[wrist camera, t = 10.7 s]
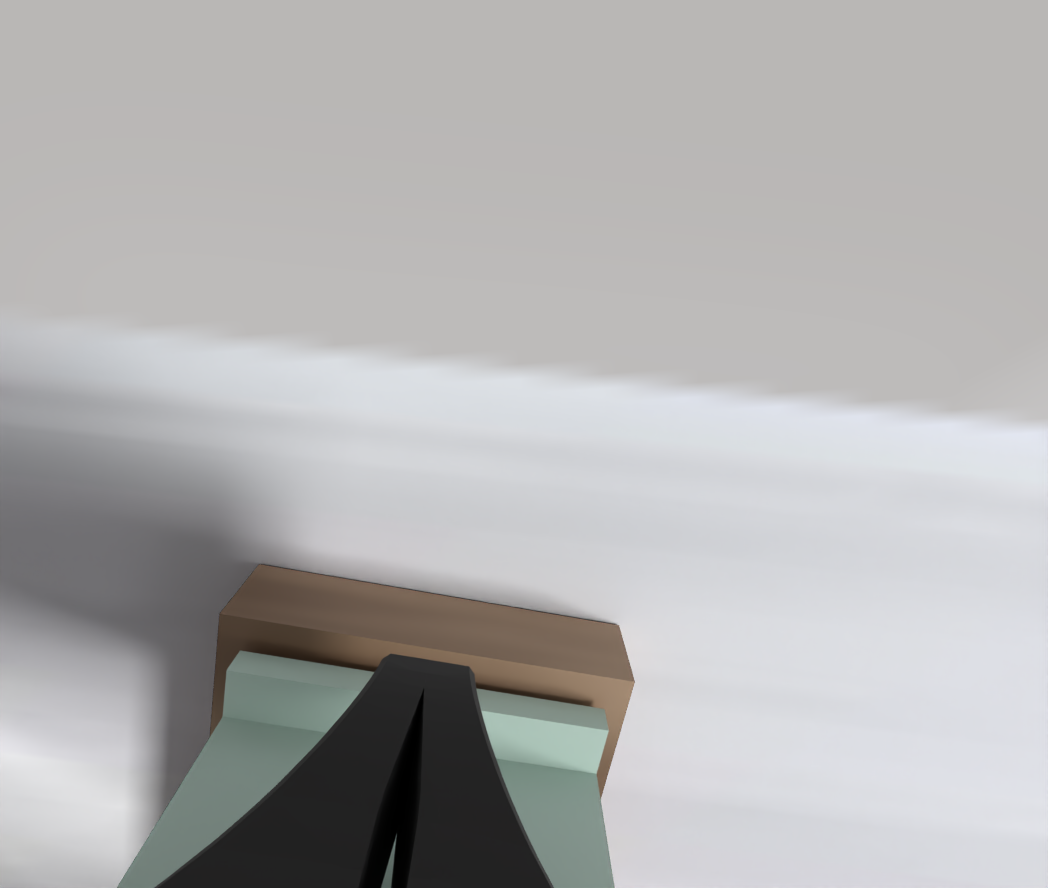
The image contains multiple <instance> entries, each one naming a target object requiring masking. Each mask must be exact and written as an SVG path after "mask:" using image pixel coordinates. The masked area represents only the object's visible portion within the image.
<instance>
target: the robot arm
mask: <svg viewBox="0 0 1048 888" xmlns="http://www.w3.org/2000/svg"><path fill="white" fill-rule="evenodd" d="M396 835H397V836H396ZM395 838H396V845H395V854H394V864H393V873H392V883H391V888H554V887H553V885H552V883H551V881H550V879H549V877H548V875H547V873H546V872H545V870H544V868H543V866H542V864H541V862H540V860H539V858H538V856H537V854H536V852H535V850H534V848H533V846H532V844H531V842H530V840H529V838H528V835H527V833H526V831H525V829H524V827H523V825H522V822H521V820H520V818H519V815H518V813H517V811H516V808H515V806H514V804H513V802H512V799H511V797H510V794H509V792H508V789H507V787H506V784H505V782H504V779H503V777H502V774H501V771H500V768H499V765H498V762H497V760H496V757H495V754H494V751H493V748H492V745H491V742H490V739H489V736H488V733H487V730H486V726H485V723H484V719H483V715H482V712H481V708H480V704H479V699H478V695H477V689H476V683H475V674H474V673H473V671H472V670H471V668H470V667H469V666H464V665H458V664H452V663H446V662H440V661H434V660H428V659H422V658H416V657H410V656H403V655H397V654H389V655H388V656H386V657H384V658H383V659H382V660H381V662H380V664H379V666H378V667H377V669H376V671H375V672H374V674H373V675H372V677H371V678H370V679H369V681H368V682H367V684H366V685H365V686H364V688H363V689H362V690H361V692H360V693H359V694H358V696H357V697H356V698H355V699H354V701H353V702H352V703H351V705H350V706H349V707H348V708H347V709H346V711H345V712H344V713H343V714H342V715H341V716H340V718H339V719H338V720H337V721H336V722H335V723H334V725H333V726H332V727H331V728H330V729H329V730H328V731H327V733H326V734H325V735H324V736H323V737H322V738H321V740H320V741H319V742H318V743H317V744H316V745H315V746H314V747H313V748H312V749H311V750H310V751H309V752H308V753H307V754H306V755H305V756H304V757H303V758H302V759H301V760H300V761H299V762H298V764H297V765H296V766H295V767H294V768H293V769H292V770H291V771H290V772H289V773H288V774H287V775H286V776H285V777H284V778H283V779H282V780H281V781H280V782H279V783H278V784H277V785H276V786H275V787H274V788H273V789H272V790H271V791H269V792H268V793H267V794H266V795H265V796H264V797H263V798H262V799H261V800H260V801H259V802H258V803H257V804H256V805H254V806H253V807H252V808H251V809H250V810H249V811H248V812H247V813H246V814H244V815H243V816H242V817H241V818H240V819H239V820H238V821H236V822H235V823H234V824H233V825H232V826H231V827H229V828H228V829H227V830H226V831H225V832H224V833H222V834H221V835H220V836H219V837H218V838H217V839H215V840H214V841H213V842H212V843H211V844H209V845H208V846H207V847H205V848H204V849H203V850H202V851H200V852H199V853H198V854H197V855H195V856H194V857H193V858H192V859H190V860H189V861H188V862H187V863H185V864H184V865H183V866H181V867H180V868H179V869H178V870H176V871H175V872H174V873H173V874H171V875H170V876H169V877H168V878H166V879H165V880H164V881H162V882H161V883H160V884H158V885H157V886H156V887H154V888H381V886H382V883H383V880H384V876H385V873H386V869H387V866H388V862H389V859H390V855H391V852H392V849H393V845H394V842H395Z"/></svg>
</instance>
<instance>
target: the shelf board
mask: <svg viewBox="0 0 1048 888" xmlns="http://www.w3.org/2000/svg"><path fill="white" fill-rule="evenodd" d="M239 651H246V652H252V653H259V654H265V655H271V656H277V657H284V658H290V659H296V660H302V661H309V662H315V663H321V664H327V665H333V666H340V667H346V668H352V669H358V670H365V671H371V672H375V671H376V669H377V667H378V666H379V664H380V662H381V660H382V659H383V658H384V657H386V656H388V655H389V654H397V655H403V656H410V657H416V658H422V659H428V660H434V661H440V662H446V663H452V664H458V665H464V666H469V667H470V668H471V670H472V671H473V673H474V674H475V683H476V688H477V689H483V690H489V691H495V692H502V693H508V694H514V695H520V696H527V697H533V698H539V699H545V700H551V701H558V702H564V703H570V704H576V705H583V706H589V707H595V708H601V709H605V714H606V719H607V724H608V729H609V732H608V735H607V739H606V742H605V746H604V749H603V753H602V756H601V760H600V763H599V767H598V770H597V780H598V787H599V793H600V799H601V796H602V793H603V789H604V786H605V782H606V779H607V775H608V772H609V769H610V765H611V762H612V758H613V755H614V751H615V748H616V745H617V741H618V738H619V734H620V731H621V727H622V724H623V721H624V717H625V714H626V710H627V707H628V703H629V700H630V696H631V693H632V690H633V686H634V683H635V681H634V677H633V674H632V670H631V667H630V663H629V660H628V656H627V652H626V649H625V645H624V642H623V638H622V635H621V631H620V627H619V625H613V624H608V623H602V622H596V621H590V620H584V619H578V618H572V617H566V616H561V615H555V614H549V613H543V612H537V611H531V610H525V609H519V608H514V607H508V606H502V605H496V604H490V603H484V602H478V601H472V600H467V599H461V598H455V597H449V596H443V595H437V594H431V593H425V592H420V591H414V590H408V589H402V588H396V587H390V586H384V585H378V584H373V583H367V582H361V581H355V580H349V579H343V578H337V577H331V576H326V575H320V574H314V573H308V572H302V571H296V570H290V569H284V568H279V567H273V566H267V565H261V564H259V565H258V566H257V567H256V569H255V570H254V571H253V572H252V574H251V575H250V576H249V577H248V579H247V580H246V581H245V582H244V584H243V585H242V586H241V587H240V589H239V590H238V591H237V592H236V594H235V595H234V596H233V597H232V599H231V600H230V601H229V602H228V604H227V605H226V606H225V607H224V609H223V610H222V611H221V612H220V614H219V626H218V639H217V652H216V664H215V677H214V689H213V702H212V715H211V727H210V736H211V735H212V733H213V731H214V730H215V728H216V727H217V725H218V723H219V722H220V720H221V719H222V717H223V706H224V695H225V683H226V671H227V669H228V667H229V666H230V665H231V663H232V662H233V660H234V659H235V657H236V656H237V654H238V653H239Z"/></svg>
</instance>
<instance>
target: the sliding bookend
mask: <svg viewBox="0 0 1048 888" xmlns="http://www.w3.org/2000/svg"><path fill="white" fill-rule="evenodd" d="M373 674H374V672H371V671H365V670H358V669H352V668H346V667H340V666H333V665H327V664H321V663H315V662H309V661H302V660H296V659H290V658H284V657H277V656H271V655H265V654H259V653H252V652H246V651H239V653H238V654H237V656H236V657H235V659H234V660H233V662H232V663H231V665H230V666H229V667H228V669H227V671H226V683H225V695H224V706H223V717H222V719H221V720H220V722H219V723H218V725H217V727H216V728H215V730H214V731H213V733H212V735H211V736H210V738H209V740H208V741H207V743H206V744H205V746H204V748H203V749H202V751H201V752H200V754H199V756H198V757H197V759H196V761H195V762H194V764H193V765H192V767H191V769H190V770H189V772H188V774H187V775H186V777H185V778H184V780H183V782H182V783H181V785H180V786H179V788H178V790H177V791H176V793H175V795H174V796H173V798H172V799H171V801H170V803H169V804H168V806H167V807H166V809H165V811H164V812H163V814H162V816H161V817H160V819H159V820H158V822H157V824H156V825H155V827H154V829H153V830H152V832H151V833H150V835H149V837H148V838H147V840H146V841H145V843H144V845H143V846H142V848H141V850H140V851H139V853H138V854H137V856H136V858H135V859H134V861H133V863H132V864H131V866H130V867H129V869H128V871H127V872H126V874H125V875H124V877H123V879H122V880H121V882H120V884H119V885H118V887H117V888H154V887H156V886H157V885H158V884H160V883H161V882H162V881H164V880H165V879H166V878H168V877H169V876H170V875H171V874H173V873H174V872H175V871H176V870H178V869H179V868H180V867H181V866H183V865H184V864H185V863H187V862H188V861H189V860H190V859H192V858H193V857H194V856H195V855H197V854H198V853H199V852H200V851H202V850H203V849H204V848H205V847H207V846H208V845H209V844H211V843H212V842H213V841H214V840H215V839H217V838H218V837H219V836H220V835H221V834H222V833H224V832H225V831H226V830H227V829H228V828H229V827H231V826H232V825H233V824H234V823H235V822H236V821H238V820H239V819H240V818H241V817H242V816H243V815H244V814H246V813H247V812H248V811H249V810H250V809H251V808H252V807H253V806H254V805H256V804H257V803H258V802H259V801H260V800H261V799H262V798H263V797H264V796H265V795H266V794H267V793H268V792H269V791H271V790H272V789H273V788H274V787H275V786H276V785H277V784H278V783H279V782H280V781H281V780H282V779H283V778H284V777H285V776H286V775H287V774H288V773H289V772H290V771H291V770H292V769H293V768H294V767H295V766H296V765H297V764H298V762H299V761H300V760H301V759H302V758H303V757H304V756H305V755H306V754H307V753H308V752H309V751H310V750H311V749H312V748H313V747H314V746H315V745H316V744H317V743H318V742H319V741H320V740H321V738H322V737H323V736H324V735H325V734H326V733H327V731H328V730H329V729H330V728H331V727H332V726H333V725H334V723H335V722H336V721H337V720H338V719H339V718H340V716H341V715H342V714H343V713H344V712H345V711H346V709H347V708H348V707H349V706H350V705H351V703H352V702H353V701H354V699H355V698H356V697H357V696H358V694H359V693H360V692H361V690H362V689H363V688H364V686H365V685H366V684H367V682H368V681H369V679H370V678H371V677H372V675H373ZM476 689H477V688H476ZM477 695H478V699H479V704H480V708H481V712H482V715H483V719H484V723H485V726H486V730H487V733H488V736H489V739H490V742H491V745H492V748H493V751H494V754H495V757H496V760H497V762H498V765H499V768H500V771H501V774H502V777H503V779H504V782H505V784H506V787H507V789H508V792H509V794H510V797H511V799H512V802H513V804H514V806H515V808H516V811H517V813H518V815H519V818H520V820H521V822H522V825H523V827H524V829H525V831H526V833H527V835H528V838H529V840H530V842H531V844H532V846H533V848H534V850H535V852H536V854H537V856H538V858H539V860H540V862H541V864H542V866H543V868H544V870H545V872H546V873H547V875H548V877H549V879H550V881H551V883H552V885H553V887H554V888H614V881H613V875H612V869H611V862H610V856H609V850H608V844H607V837H606V831H605V825H604V818H603V812H602V806H601V799H600V793H599V787H598V780H597V770H598V767H599V763H600V760H601V756H602V753H603V749H604V746H605V742H606V739H607V735H608V732H609V729H608V724H607V719H606V714H605V709H601V708H595V707H589V706H583V705H576V704H570V703H564V702H558V701H551V700H545V699H539V698H533V697H527V696H520V695H514V694H508V693H502V692H495V691H489V690H483V689H477ZM396 836H397V835H396ZM395 845H396V838H395V842H394V845H393V849H392V852H391V855H390V859H389V862H388V866H387V869H386V873H385V876H384V880H383V883H382V886H381V888H391V883H392V873H393V864H394V854H395Z"/></svg>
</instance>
